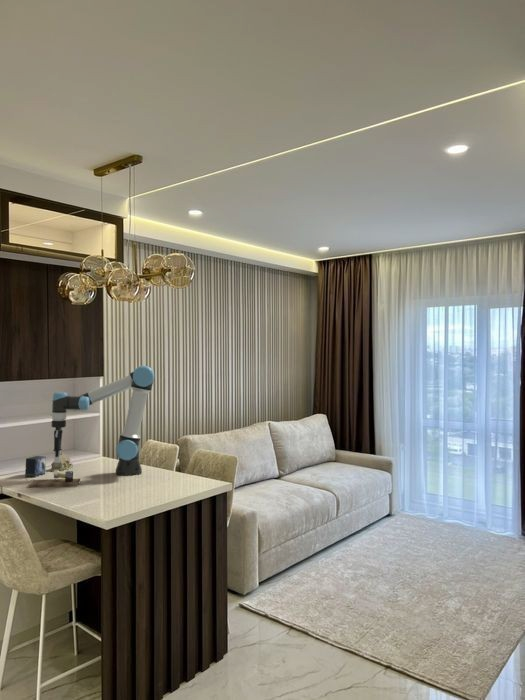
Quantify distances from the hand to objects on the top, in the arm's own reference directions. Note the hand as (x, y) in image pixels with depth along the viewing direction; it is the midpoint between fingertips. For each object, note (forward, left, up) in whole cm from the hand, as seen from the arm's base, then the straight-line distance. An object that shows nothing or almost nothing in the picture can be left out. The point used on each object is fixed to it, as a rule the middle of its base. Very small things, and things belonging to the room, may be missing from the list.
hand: (56, 462), depth 298 cm
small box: (+13, -12, -10) cm, 20 cm away
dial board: (-2, +14, -9) cm, 17 cm away
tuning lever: (-5, +12, -8) cm, 15 cm away
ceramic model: (+2, -30, -10) cm, 31 cm away
